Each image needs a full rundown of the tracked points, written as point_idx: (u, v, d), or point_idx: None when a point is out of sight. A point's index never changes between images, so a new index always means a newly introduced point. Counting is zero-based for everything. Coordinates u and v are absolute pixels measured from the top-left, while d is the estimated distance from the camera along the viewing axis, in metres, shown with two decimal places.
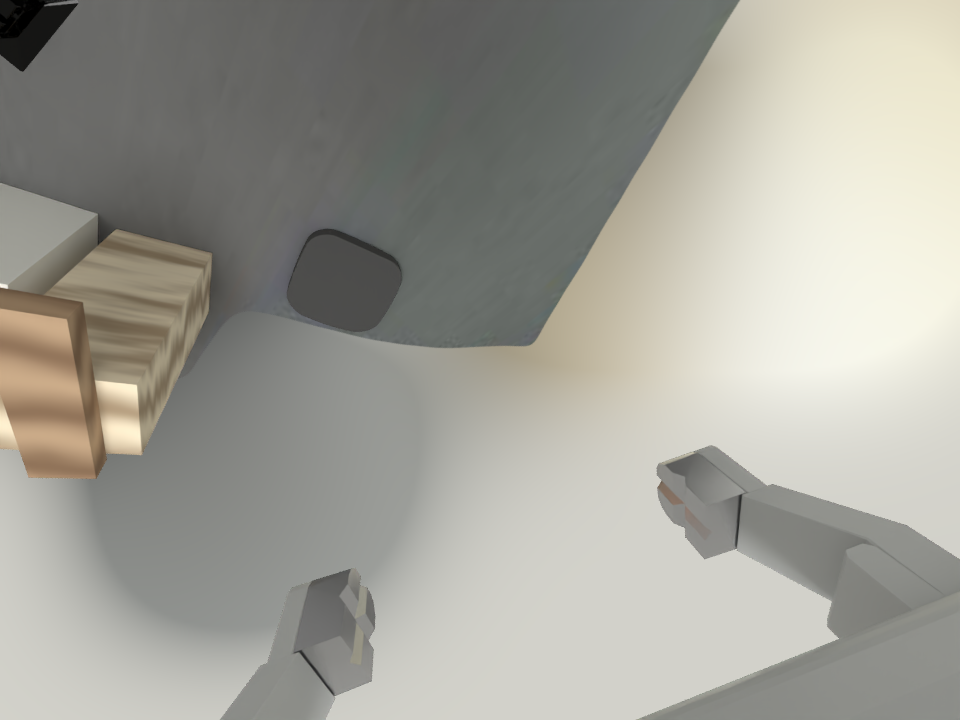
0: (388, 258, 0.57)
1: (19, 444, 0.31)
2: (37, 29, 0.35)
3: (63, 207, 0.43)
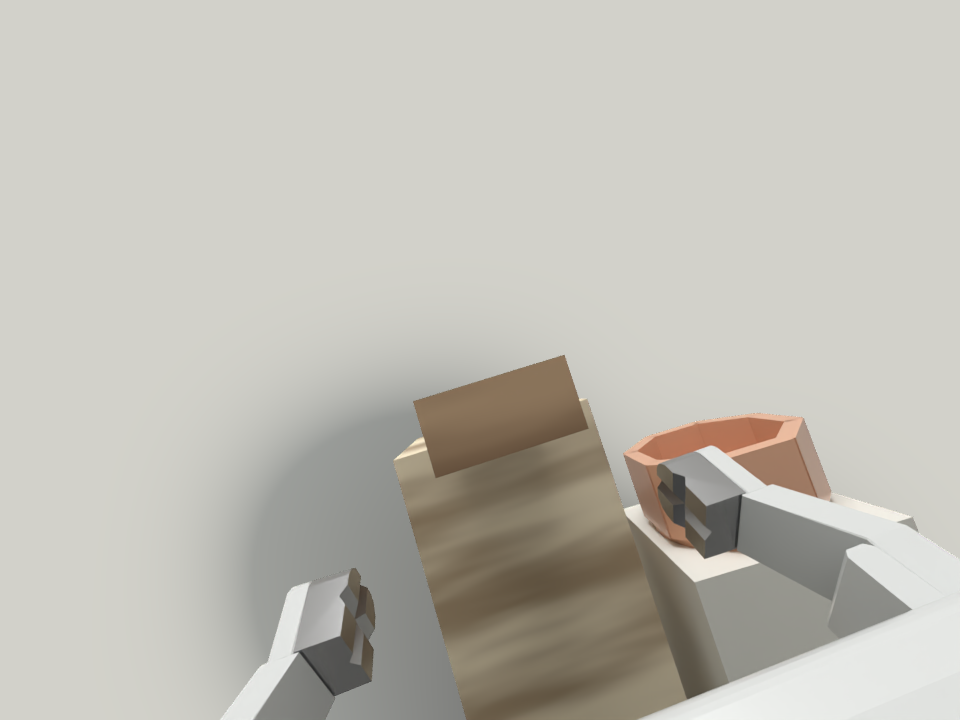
0: None
1: None
2: None
3: None
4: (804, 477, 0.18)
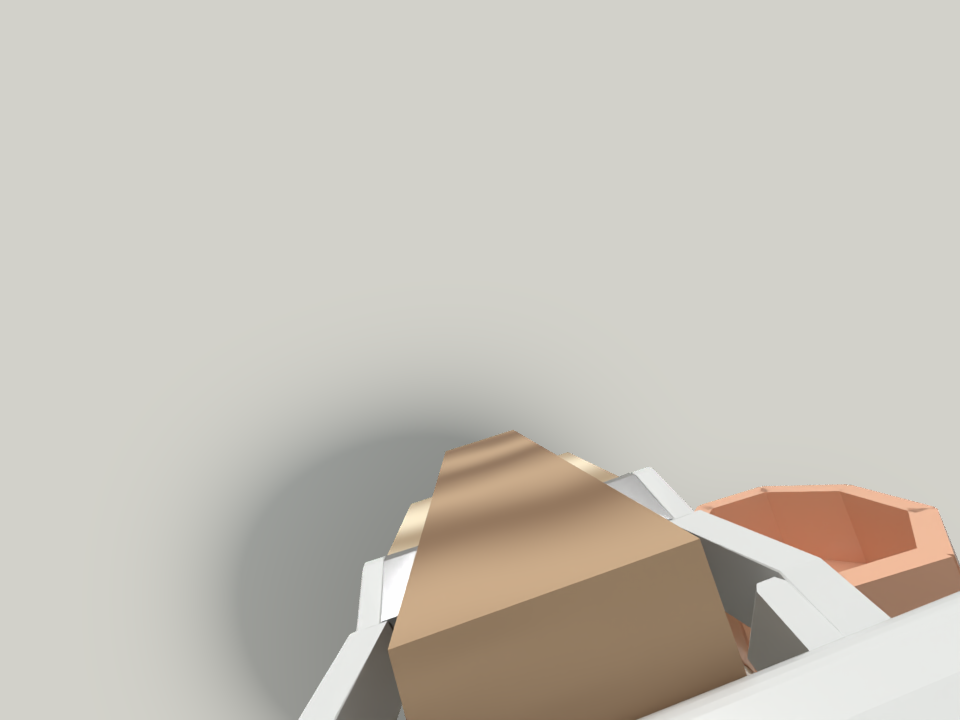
0: None
1: (523, 437, 0.19)
2: None
3: None
4: None
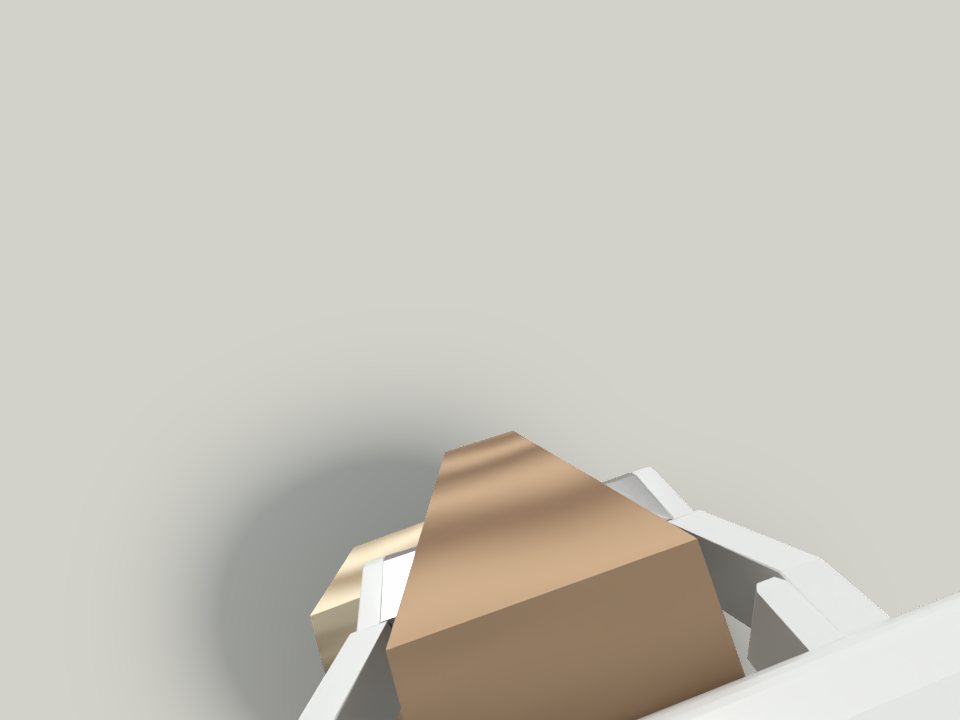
0: None
1: (522, 438, 0.19)
2: None
3: None
4: None
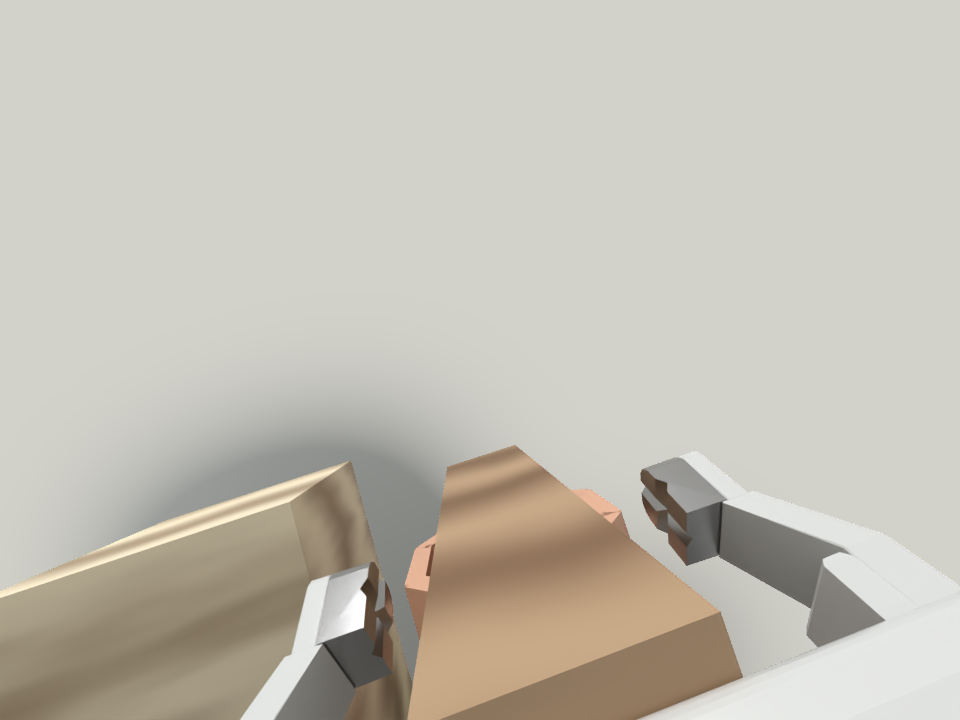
0: None
1: (526, 457, 0.19)
2: None
3: None
4: None
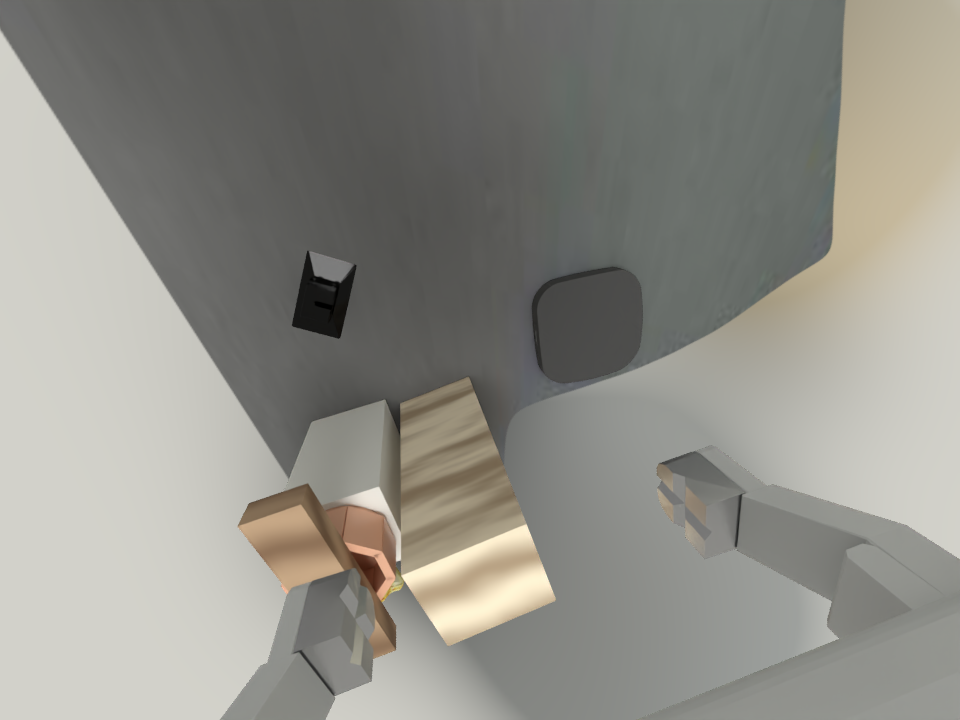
0: (614, 269, 0.48)
1: None
2: (340, 302, 0.44)
3: (365, 409, 0.49)
4: None
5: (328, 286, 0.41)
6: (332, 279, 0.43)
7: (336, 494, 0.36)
